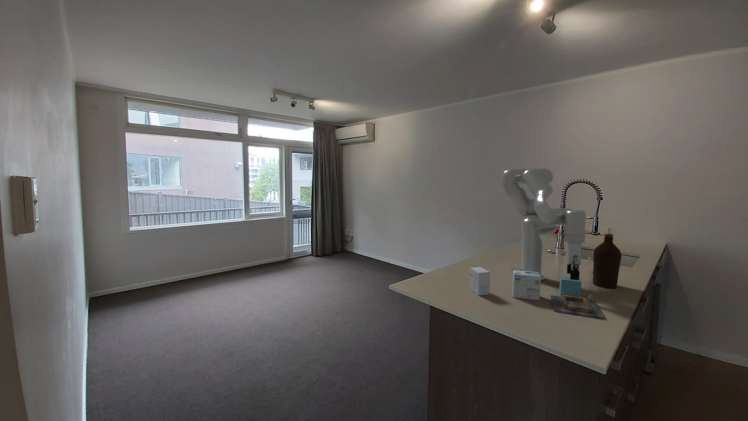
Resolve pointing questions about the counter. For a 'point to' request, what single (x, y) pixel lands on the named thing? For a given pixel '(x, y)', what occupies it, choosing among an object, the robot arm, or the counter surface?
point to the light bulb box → (526, 285)
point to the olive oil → (606, 263)
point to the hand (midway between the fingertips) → (572, 276)
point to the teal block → (570, 287)
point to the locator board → (576, 306)
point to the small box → (479, 281)
